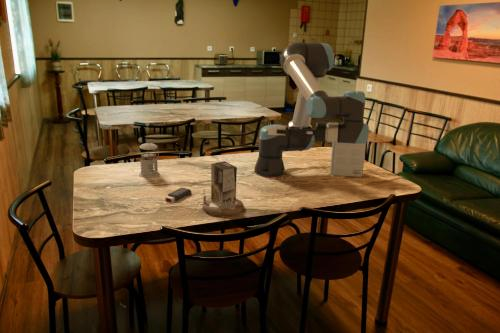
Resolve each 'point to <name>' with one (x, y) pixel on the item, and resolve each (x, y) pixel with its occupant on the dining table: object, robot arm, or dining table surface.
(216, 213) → the pin nest
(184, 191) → the usb drive
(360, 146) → the hard drive box
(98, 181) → the dining table surface
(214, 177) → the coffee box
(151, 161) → the french press
